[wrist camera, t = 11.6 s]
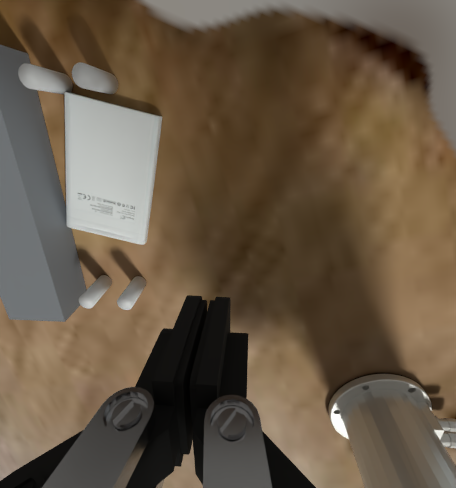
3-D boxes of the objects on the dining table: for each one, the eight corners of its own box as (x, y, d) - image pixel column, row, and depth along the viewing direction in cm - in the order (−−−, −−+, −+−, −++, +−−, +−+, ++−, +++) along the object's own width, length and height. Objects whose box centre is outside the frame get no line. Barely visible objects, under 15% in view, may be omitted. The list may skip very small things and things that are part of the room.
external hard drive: (164, 116, 24) (148, 240, 29) (73, 92, 24) (73, 221, 29) (159, 116, 23) (143, 246, 28) (62, 90, 23) (63, 227, 28)
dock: (113, 52, 22) (83, 35, 18) (148, 298, 32) (133, 324, 28) (-41, 54, 23) (-104, 39, 19) (39, 294, 33) (9, 319, 28)
